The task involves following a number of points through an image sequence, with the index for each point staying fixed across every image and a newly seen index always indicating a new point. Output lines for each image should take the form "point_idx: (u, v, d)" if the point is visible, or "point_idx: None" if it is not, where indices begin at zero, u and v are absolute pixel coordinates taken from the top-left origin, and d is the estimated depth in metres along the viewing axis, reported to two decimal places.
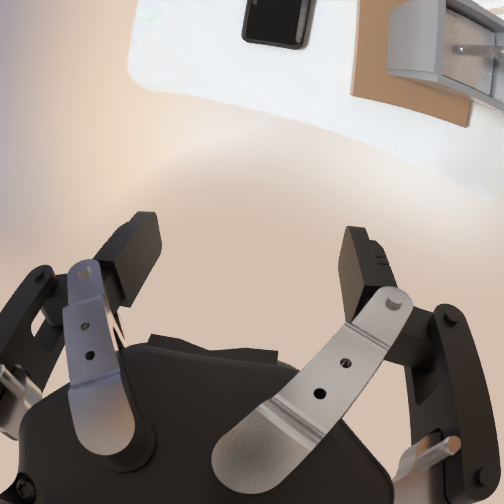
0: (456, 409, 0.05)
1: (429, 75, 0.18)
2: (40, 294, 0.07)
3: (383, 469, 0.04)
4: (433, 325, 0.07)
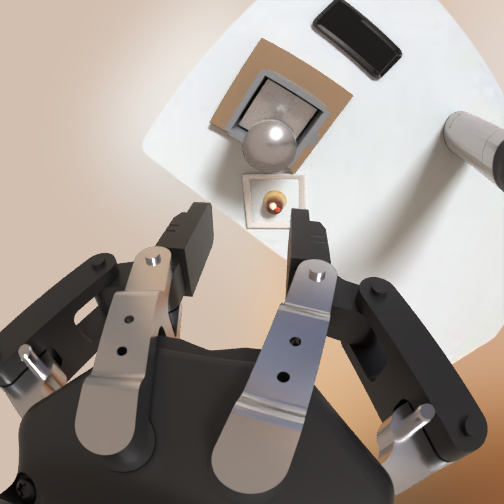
0: (416, 378, 0.05)
1: (265, 71, 0.31)
2: (93, 285, 0.08)
3: (382, 469, 0.04)
4: (362, 303, 0.08)
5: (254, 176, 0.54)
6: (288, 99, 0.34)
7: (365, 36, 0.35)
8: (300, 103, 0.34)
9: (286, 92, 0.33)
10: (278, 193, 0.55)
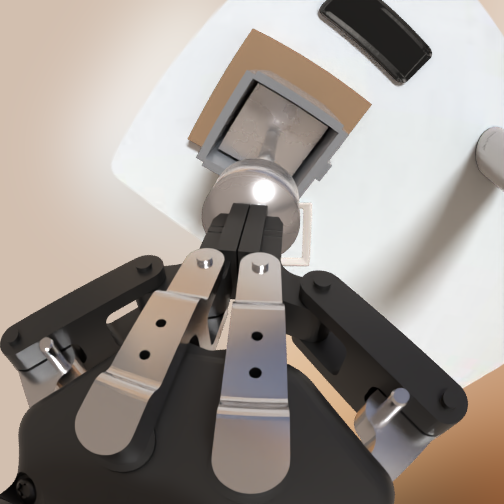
0: (381, 365, 0.06)
1: (254, 72, 0.21)
2: (133, 290, 0.08)
3: (383, 469, 0.04)
4: (307, 300, 0.08)
5: None
6: (287, 112, 0.24)
7: (387, 28, 0.25)
8: (304, 118, 0.24)
9: (284, 102, 0.24)
10: None
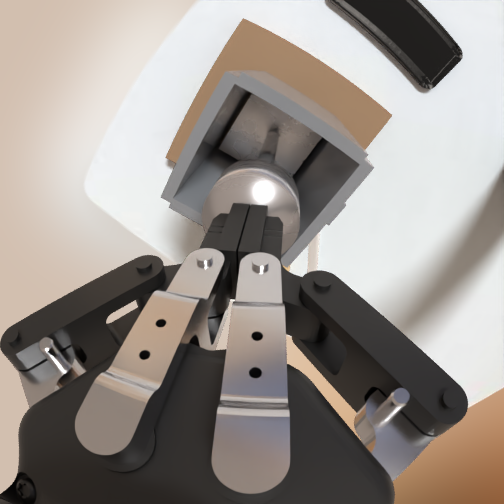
0: (381, 365, 0.06)
1: (239, 74, 0.15)
2: (133, 290, 0.08)
3: (383, 469, 0.04)
4: (307, 300, 0.08)
5: None
6: None
7: (410, 21, 0.19)
8: None
9: None
10: None
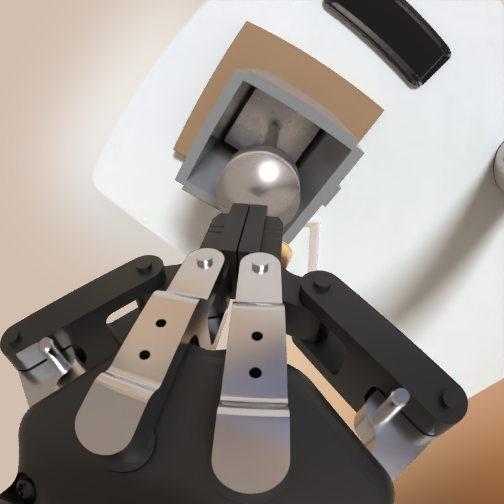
0: (381, 365, 0.06)
1: (246, 72, 0.17)
2: (133, 290, 0.08)
3: (383, 469, 0.04)
4: (307, 300, 0.08)
5: None
6: (288, 108, 0.26)
7: (401, 23, 0.21)
8: None
9: None
10: None
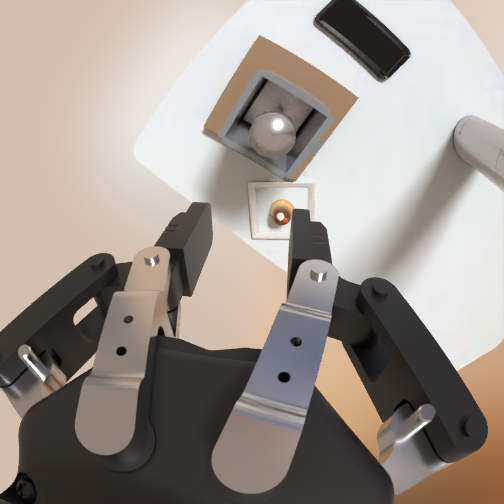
0: (417, 378, 0.05)
1: (263, 71, 0.28)
2: (92, 285, 0.08)
3: (382, 469, 0.04)
4: (363, 303, 0.08)
5: (260, 184, 0.51)
6: (288, 96, 0.37)
7: (371, 34, 0.32)
8: (299, 100, 0.37)
9: (286, 90, 0.37)
10: (285, 202, 0.52)
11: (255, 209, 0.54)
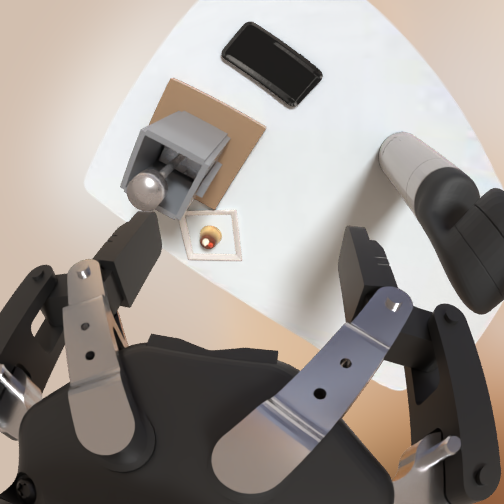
0: (456, 409, 0.05)
1: (149, 128, 0.33)
2: (40, 294, 0.07)
3: (382, 469, 0.04)
4: (433, 325, 0.07)
5: (188, 212, 0.56)
6: None
7: (278, 61, 0.37)
8: None
9: None
10: (212, 228, 0.57)
11: (187, 234, 0.59)
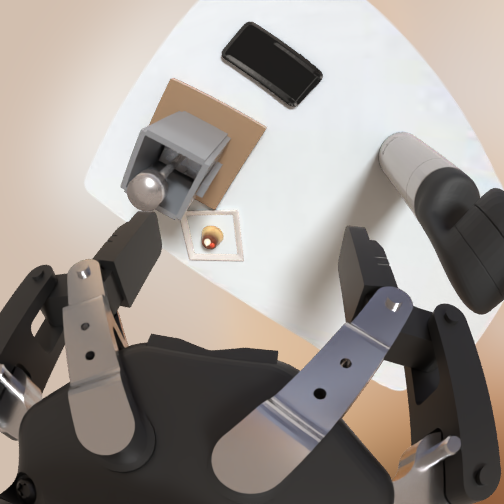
0: (456, 409, 0.05)
1: (149, 128, 0.33)
2: (40, 294, 0.07)
3: (382, 469, 0.04)
4: (433, 325, 0.07)
5: (190, 213, 0.56)
6: None
7: (278, 61, 0.37)
8: None
9: None
10: (213, 228, 0.57)
11: (189, 234, 0.59)
